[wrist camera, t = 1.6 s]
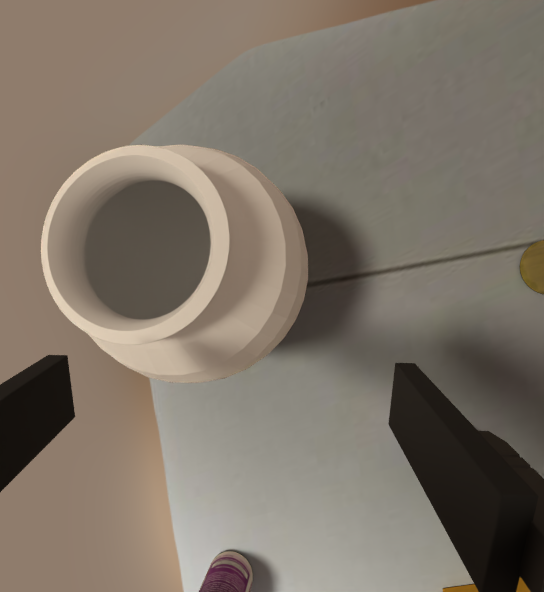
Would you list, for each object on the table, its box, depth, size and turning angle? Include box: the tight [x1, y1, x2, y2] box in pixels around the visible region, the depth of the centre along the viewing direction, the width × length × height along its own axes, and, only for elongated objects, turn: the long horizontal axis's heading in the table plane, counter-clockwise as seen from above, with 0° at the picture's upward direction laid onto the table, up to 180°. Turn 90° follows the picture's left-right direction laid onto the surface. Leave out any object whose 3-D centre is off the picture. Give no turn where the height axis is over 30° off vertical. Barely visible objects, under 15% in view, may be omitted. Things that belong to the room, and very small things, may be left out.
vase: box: [41, 145, 308, 383], centre depth 30 cm, size 18×18×25 cm
